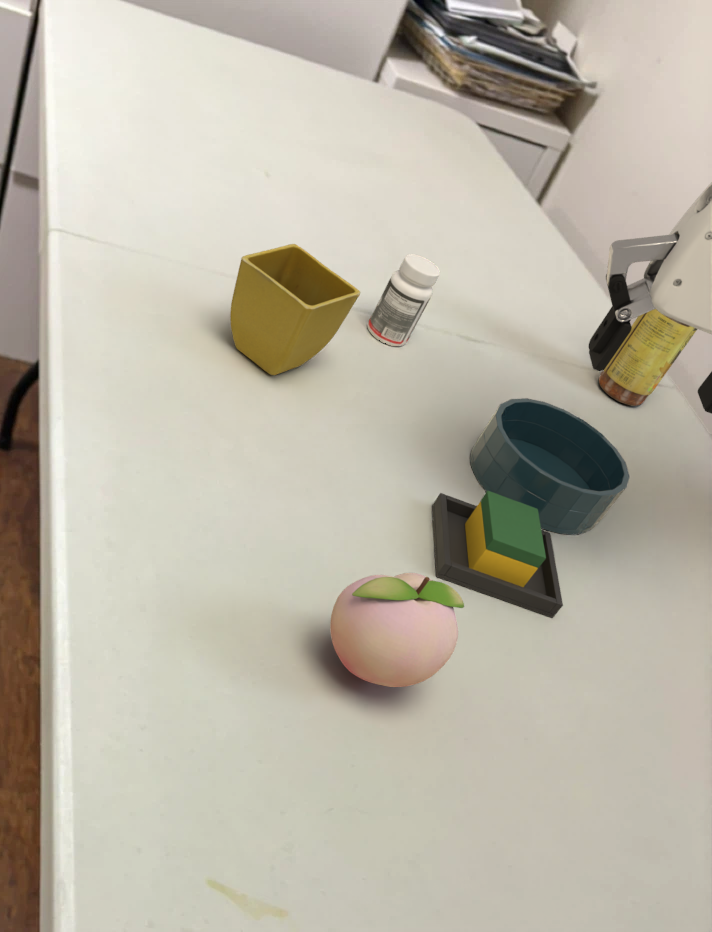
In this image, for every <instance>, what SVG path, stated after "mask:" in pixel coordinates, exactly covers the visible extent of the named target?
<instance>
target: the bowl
mask: <svg viewBox="0 0 712 932" xmlns="http://www.w3.org/2000/svg"><path fill="white" fill-rule="evenodd" d="M469 463H470V467H471V470H472V472H473V474H474V477H475V478H476V480H477V481H478V483H479V485H480V486H481V487H482V488H483V489H484V491H485V493H486V492H487V491H490V492H493V493H496V494H499V495H501V496H504V497H507V498H509V499H512V500H515V501H517V502H520V503H523V504H526V505H528V506H531V507H534V508H536V509H538V514H539V519H540V525H541V530H544V531H547V532H550V533H551V532H553V533H556V534H560V535H574V536H575V535H581V534H584V533H587V532H589V531H591V530H593V529H594V528H595V527H596V526H597V524H599V523H600V522H601V520H602V519H603V518H604V517H605V515H607V513H608V512H609V511H610V509H611V508H612V507H613V505H614V504H615V503H616V502H617V501H618V500H619V498H620V497H621V495H622V494H623V493H624V491H625V490H626V489H627V488H628V484H629V481H630V473H629V469H628V465H627V462H626V461H625V459H624V457H623V456H622V454H621V453H620V452H619V449H617V447H616V446H615V445H614V444H613V443H612V442H611V441H609V439H608V438H607V437H606V436H605V435H604V434H603V433H602V432H601V431H599V430H598V429H596V427H594V426H592V425H591V424H590V423H588V421H586V420H584V419H582V418H580V417H579V416H577V415H575V414H573V413H571V412H569V411H568V410H566V409H564V408H561V407H559V406H556V405H554V404H551V403H549V402H545V401H542V400H539V399H532V398H527V397H525V398H523V397H521V398H510V399H508V400H506V401H504V402H501V403H500V404H499V406H498V407H497V409H496V410H495V412H494V413H493V415H492V417H491V418H490V420H489V421H488V423H487V424H486V426H485V428H484V429H483V431H482V432H481V434H480V435H479V437H478V438H477V440H476V442H475V444H474V445H473V447H472V449H471V451H470V455H469Z"/></svg>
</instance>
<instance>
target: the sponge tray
mask: <svg viewBox="0 0 712 932" xmlns="http://www.w3.org/2000/svg"><path fill="white" fill-rule="evenodd" d="M476 507H477V505H475V504H472V503H469V502H467V501H464V500H461V499H458V498H456V497H454V496H451V495H449V494H445V493H443V492H440V493H439V494H438V496H437V497H436V499H435V501H434V502H432V505H431V510H432V512H431V513H432V528H433V529H432V530H433V546H434V547H433V548H434V566H435V577H436V578H439V579H442V580H445V581H448V582H450V583H453V584H456V585H458V586H461V587H464V588H466V589H470V590H473V591H475V592H479V593H481V594H483V595H487V596H489V597H492V598H495V599H498V600H501V601H504V602H507V603H509V604H512V605H515V606H518V607H520V608H523V609H525V610H529V611H532V612H535V613H538V614H540V615H543V616H546V617H548V618H551V619H553V618H554V617H555V616H556V615H557V614H558V612H559V611H561V608H562V607H563V606H564V604H563V603H564V602H563V597H562V591H561V585H560V580H559V575H558V569H557V563H556V558H555V551H554V546H553V541H552V540H553V539H552V535H551V532H550V531H547V530H544V529H541V531H542V537H543V543H544V549H545V555H546V559H545V560H544V561H543V563H542V564H541V565H540V567H539V568H538V569H537V570H536V572H535V573H534V574H533V575H532V577H531V578H530V579H529V581H528V582H527V583H526V585H525V586H524V587H521V586H518V585H516V584H513V583H510V582H507V581H504V580H502V579H499V578H496V577H493V576H490V575H488V574H485V573H482V572H479V571H476V570H474V569H471V568H469V563H468V552H467V541H466V530H465V523H466V522H467V520H468V519H469V517H470V516H471V514H472V513H473V511H474V510H475V508H476Z"/></svg>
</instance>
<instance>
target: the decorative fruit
mask: <svg viewBox="0 0 712 932" xmlns="http://www.w3.org/2000/svg"><path fill="white" fill-rule="evenodd" d="M454 608H458V609H463V608H465V602H464V600H463V598H462V597H461V595H460V593H458V591H456V590H455V589H454V588H453V587H451V586H450V585H448V584H446V583H444V582H442V581H437V580H433V579H431V578H430V577H429V576H425V575H423V574H420V573H417V572H404V573H400V574H395V575H394V576H391V575H386V574H373V575H368V576H365V577H362V578H359V579H358V580H356V581H354V582H352V583H350V584H349V585H347V586H346V587H345V588H344V589H342V591H341V592H340V593H339V595H338V596H337V598H336V600H335V603H334V604H333V607H332V611H331V614H330V621H329V623H330V624H329V631H330V637H331V642H332V645H333V649H334V651H335V653H336V655H337V656H338V658H339V660H340V662H341V664H342V665H343V666H344V667H345V668H346V669H347V670H348V672H349V673H351V674H352V675H354V676H355V677H357V678H359V679H361V680H363V681H365V682H367V683H370V684H374V685H378V686H383V687H389V688H390V687H391V688H404V687H405V688H406V687H410V686H414V685H417V684H420V683H422V682H424V681H427V680H428V679H430V678H432V677H433V676H434V675H435V674H436V673H438V672H439V671H440V670H441V669H442V668H443V667H444V666H445V665H446V664H447V663H448V661H449V660H450V659H451V657H452V655H453V653H454V652H455V649H456V647H457V644H458V638H459V626H458V621H457V615H456V612H455V609H454Z"/></svg>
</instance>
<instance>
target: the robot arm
mask: <svg viewBox="0 0 712 932" xmlns="http://www.w3.org/2000/svg"><path fill="white" fill-rule="evenodd" d="M642 262H648V265H647V267H646V268H645V270H644V273H643V278H641V279H639V280H637V281H635V282H633V283H630V284H627V274H628V272H629V271H628V270H629V267H631V266H632V265H633V264H634V263H642ZM606 267H607V270H606V274H605V281H606V285H607V289H608V295H609V297H610V302H611V307H610V309H609V310H608V312H607V313H606V314H605V316H604V318H603V319H602V320H601V322H600V324H599V325H598V327H597V329H596V330H595V331H594V333H593V335H592V336H591V338H590V340H589V342H588V354H589V355H588V356H589V358H590V362H591V367H592V369H593V370H595V371H597V372H602V371H604V369H605V368H606V366H607V365H608V364H609V362H610V361H611V359H612V358H613V356H614V355H615V353H616V352H617V350H618V349H619V348H620V346H621V345H622V343H623V342H624V340H625V339H626V337H627V336H628V335H629V333H630V331H631V329H632V327H631V326H632V324H631V321H632V320H633V319H637V317H638V316H640V315H643V314H645V313H647V312H649V311H652V310H654V309H657V310H658V311H659V312H660V313H662V314H663V315H665V316H667V317H669V318H672V319H674V320H676V321H679V322H681V323H684V324H686V325H689V326H691V327H694V328H696V329H697V330H699V331H702V332H704V333H707V334H709V335H712V181H711V182H710V183H709V184H708V186H707V187H706V188H705V189H704V190H703V191H702V192H701V193H700V195H699V196H698V197H697V198H696V199H695V200H694V202H693V203H692V204H691V205H690V207H688V209H687V210H686V212H685V213H684V214H683V215H682V217H681V218H680V219H679V221H678V222H677V223H676V224H675V225H674V227H673V228H672V229H671V231H670V232H669V233H668V234H665V235H664V234H663V235H655V236H645V237H639V238H638V237H637V238H636V237H635V238H628V239H619V240H618V239H617V240H614V241H613V242H612V243H611V244H610V245H609V250H608V258H607V266H606ZM697 395H698V398H699V400H700V402H701V405H702V408H703V410H704V411H705V412H706V413H709V414H712V371H711V372H710V373H709V374H708V376H707V377H706V378H705V379H704V381H702V383H701V384H700V385H699V387H698V389H697Z"/></svg>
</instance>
